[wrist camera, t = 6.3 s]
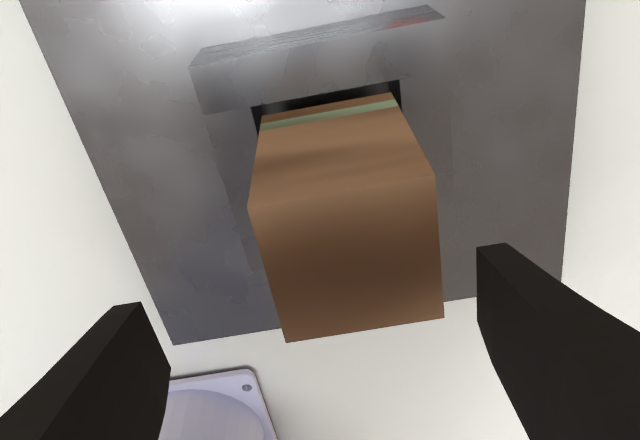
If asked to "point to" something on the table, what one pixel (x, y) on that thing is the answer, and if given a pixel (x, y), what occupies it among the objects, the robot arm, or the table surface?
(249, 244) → the dark grey stepped base
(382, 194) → the walnut post
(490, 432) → the table surface
